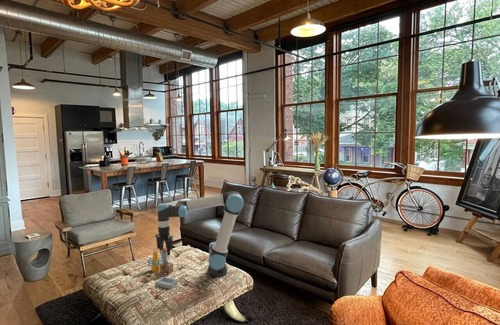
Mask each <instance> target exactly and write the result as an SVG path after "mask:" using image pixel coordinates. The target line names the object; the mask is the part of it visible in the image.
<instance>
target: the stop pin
mask: <svg viewBox="0 0 500 325" xmlns="http://www.w3.org/2000/svg"><path fill="white" fill-rule="evenodd" d="M166 251H167V249H166V247H163V249H162V252H163V266H167V265H168V262H169V260H166Z"/></svg>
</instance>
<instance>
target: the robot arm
mask: <svg viewBox="0 0 500 325" xmlns="http://www.w3.org/2000/svg"><path fill="white" fill-rule="evenodd" d="M244 203H245V202H244V199H243V196H242V195H241V193H240V192H238V191H236V190H233V191H232V190H231V191H227V192H226V191H225V192H222V193H221V194H218V195H212V196H206V197H200V198H195V199H189V200H179V201H177V202H176V203H175V205H173V206H172V205H169V203H167V202H163V203H162V202H161V203H158V204H157V208H156V209H157V210H156V212H157V230H158V233H157V234H155V238H156V247H157V249H158V250H159V254H160V257H161V258H160V259H161V260H162V259H163V252H162V249H164V244H165V248H166V249H167V251H166V260H168V261H169V260H170V259H171V258H170V257H171V256H170V255H171V250H173V249H174V248H173V244H174V243H173V241H174V240H173V238H174V235H171V234H170V230H171V229H170V218H184V217H187V215H188V212H189V211H195V210H200V209H201V210H202V209H206V208H207V209H208V208H214V207H219V206H223V212H224V214H223V218H222V221H221V225H220V228H219V231H218V234H217V237H216V241H212V242H210V243H209V244H208V248H209V250H208V267H207V270H206V272H207V276H209V277H213V278H218V277H219V278H220V277H224V276H225V275H227V274H228V272H229V271H228V266H227V263H226V262H227V261H226V260H227V256H228V253H229V250H228V246H229V242H230V239H231V235H232V233H233V229H234V226H235V223H236V219H237V217H238V216H240V214H241V211H242V209H243V208H244V205H245V204H244Z"/></svg>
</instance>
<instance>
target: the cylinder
mask: <svg viewBox="0 0 500 325" xmlns="http://www.w3.org/2000/svg"><path fill="white" fill-rule="evenodd" d="M147 263H148V267H149V268H150V267H151V271H152V272H153V271H154V272H153V273H155V272H156V271H157V272H160V264H161V263H163V259H161V256H160V257H159V249H158V250H153V251H152V258H149V259H148V260H147ZM157 272H156V273H157Z"/></svg>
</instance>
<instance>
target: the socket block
mask: <svg viewBox="0 0 500 325" xmlns="http://www.w3.org/2000/svg"><path fill="white" fill-rule="evenodd" d="M154 278H155V274H151V273H147V274H145V275H144V276H142V277H141V279H142V280H141V281H142V282H147V283H150V282H152V281H153V280H154Z"/></svg>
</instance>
